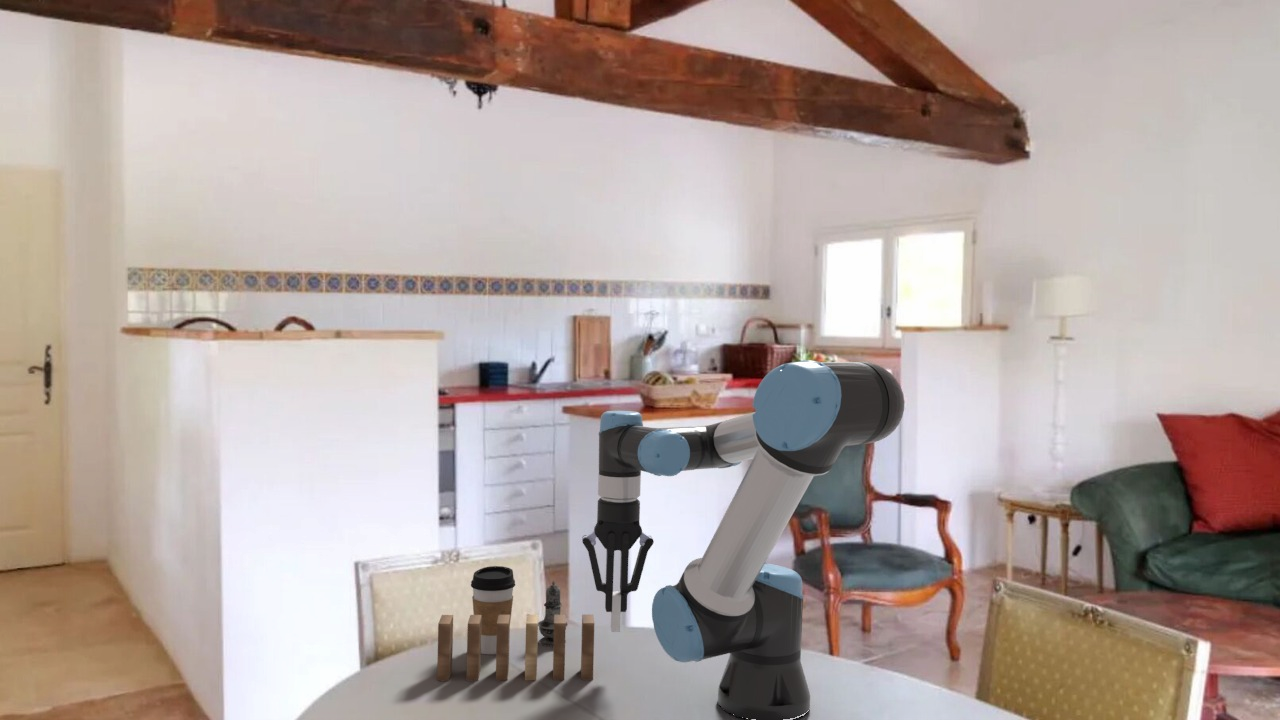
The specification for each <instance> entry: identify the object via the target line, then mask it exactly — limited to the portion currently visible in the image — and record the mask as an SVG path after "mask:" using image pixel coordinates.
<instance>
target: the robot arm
mask: <svg viewBox="0 0 1280 720" xmlns="http://www.w3.org/2000/svg"><path fill="white" fill-rule="evenodd" d="M752 409H754V412H750V413H747V414H743V415H740V416H736V417H733V418H729V419H726V420H723V421H720V422H717V423H713V424H708V425H700V426H699V425H697V426H678V427H677V426H676V427H674V426H673V427H649V426H644V423H643V415H642V414H641V413H640V412H638V411H630V410H608V411H604V412H603V413H602V414H601V416H600V424H599V425H600V426H599V432H598V474H597V475H598V480H597V481H598V485H597V487H598V488H597V495H598V496H599V497H600V498H599V499H598V500H597V515H596V516H597V517H596V519H597V520H596V524H595V526H594V529H593V531H591V532H590V533H589V534H585V535H583V536H582V538H581V540H582V544H583V546H584V547H585V549H586V551H587V553H588V558H589V561H590V567H591V570H592V576H593V580H594V584H595V589H596V591H597V592H602V593H604V594H605V597H604V598H605V599H604V600H605V601H604V603H605V605H604V608H605V611H606V613H610V631H611V632H612V633H621V613H626V612H627V610H628V594H629V593H632V592H636V591H637V590H638V588H639V585H640V582H641V576H642V574H643V571H644V567H645V563H646V559H647V556H648V552H649V551H650V549H651V548H652V546H653V544H654V538H653V537H652V535H647V534H646V533H645V532H643V529H642V526H641V524H640V520H641V519H640V516H641V515H640V514H641V513H640V511H641V501H640V499H639V498H640V497H641V482H642V481H641V478H642V475H641V473H642V472H645V473H648V474H651V475H654V476H657V477H661V476H664V477H673V476H677V475H678V474H680V473H681V472H684V471H685V472H686V471H694V470H706V469H708V470H709V469H726V468H731V467H736V466H738V465H741V463H742V462H746V461H749V460H751V462H750V465H749V466H748V469H747V470H746V472H745V474H744V476H743V477H742V480H741V482H740V484H739V486H738V488H737V489H736V492H735V493H734V495H733V497H732V499H731V502H730V504H729V505H728V507H727V509H726V511H725V513H724V514H723V517H722V518H721V520H720V522H719V523H718V524H719V525H718V527H717V528H716V531H715V532H714V534H713V536H712V537H711V540H710V541H709V544H708V546H707V548H706V550H705V552H704V554H703V556H702V557H700V558H695V559H693V560H691V562H689V563H688V564H687V566H686V567H685V569H684V571H683V573H682V574H681V576H680V579H679V580H678V582H677V583H676V584H673V585H671V584H669V585H665V587H660V589H659V590H657V591H656V592H655V595H654V597H653V601H652V603H651V619H652V623H653V628H654V632H655V635H656V638H657V640H658V643H659V644H660V646H661V647H662V650H664V652H665V653H666V654H667V655H668V657H670V658H671V659H673V660H674V661H676V662H679V663H690V662H691V663H692V662H695V663H697V662H701V661H703V660H707V659H711V658H715V657H720V656H723V655H727V654H728V655H729V657H728V659H727V661H726V662H727V663H726V665H725V668H724V671H723V673H722V676H721V679H720V683H719V685H718V688H717V689H718V690H717V704H718V705H720V706H721V707H720V706H719V707H720V708H721V709H722V710H723V709H724V710H725V711H724V710H723V711H724V712H726V711H727V712H726V713H728V714H729V713H731V714H730V715H732V714H734V715H736V716H739V717H743V718H748V719H756V720H783V719H790V718H795V717H797V716H800V715H802V714H804V713H806V712H807V711H808V710H809V708H810V709H811V694H810V693H811V691H810V690H809V687H808V683H807V679H806V675H805V672H804V669H803V666H802V662H801V659H802V658H801V653H802V652H801V651H802V631H803V630H802V629H803V627H802V626H803V608H804V607H803V603H804V600H805V596H804V595H803V580H802V576H801V575H800V574H799V573H798V572H797V571H795V570H793V569H791V568H788V567H785V566H782V565H777V564H773V563H766V562H768V561H767V560H768V559H769V557H770V555H771V553H772V552H773V550H774V548H775V546H776V544H777V543H778V541H779V540H780V538H781V536H782V534H783V532H784V530H785V528H786V527H787V525H788V523H789V521H790V519H791V517H793V514H794V513H795V510H796V509H797V508H798V505H799V503H800V502H801V500H802V498H803V496H804V494H805V493H806V491H807V490H808V487H809V485H810V484H811V483H812V480H813V479H814V477H817V476H818V477H819V476H823V475H826V474H827V473H829V472H830V471H831V469H832V468H833V466H834V464H835V462H836V461H837V459H838V457H839V456H840V454H841V452H842V451H843V449H844V448H845V447H846V446H860V445H866V444H867V445H868V444H873V443H878V442H879V441H881V440H884V439H885V438H887V437H889V436H890V435H891V434H892V433H893V432H894V431H895V430H896V429H897V427H898V426H899V424H900V423H901V421H902V419H903V416H904V411H905V397H904V392H903V389H902V386H901V385H900V383H899V382H898V380H897V379H896V378H895V376H894V375H893V374H892V373H891V372H890V371H888V370H887V369H886V368H884V367H882V366H880V365H878V364H875V363H872V362H869V361H868V362H867V361H832V362H830V361H828V362H827V361H824V362H821V361H818V360H811V359H810V360H808V359H807V360H799V361H795V362H787V363H784V364H780V365H779V366H776V367H775V368H773V369H772V370H770V371H769V372H767V374H766V375H765V376H764V377H763V379H762V380H761V381H760V383H759V384H758V386H757V388H756V391H755V393H754V396H753V400H752ZM596 539H597V540H599V542H600V543H601V544H602V546H603V547H604V549H606V558H605V559H606V562H605V563H606V564H605V583H604V582H603V581H602V575H601V571H600V567H599V561H598V556H597V553H596V548H595V546H596V544H597V541H596ZM637 540H639V550H638V553H637V557H636V560H635V564H634V568H633V572H632V575H631V579H630V582H629V558H630V557H629V555H630V552H629V551H630V550H631V548H632V547H633V546H634V545H635V543H636V542H637ZM615 551H620V567H619V568H620V569H619V570H620V571H619V573H620V575H619V591H618V590H615V591H614V566H615V562H614V561H615ZM809 711H810V710H809ZM734 715H733V716H734ZM736 716H735V717H736ZM739 717H738V718H739ZM743 718H742V719H743Z"/></svg>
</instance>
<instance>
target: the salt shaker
mask: <svg viewBox="0 0 1280 720" xmlns="http://www.w3.org/2000/svg"><path fill="white" fill-rule="evenodd" d="M561 592H562V591H561V588H560V587H559V586H557V585H556V582H555V581H552V583H551V585H549V586H548V587H547V588H546V592H545V603H543V605H544V607H545V615H544V619H542V620H540V621H538V631H539V632H540V634H541V635H542V636H543V637H541V638H540V639H538V643H539V644H540V645H541V644H542V645H541V646H544V645H546V646H545V647H554V615H561V611H562V610H561V607H562V606H563V603H562V602H561ZM568 624H569V623H568V622H567V621H566V627H567V626H568ZM566 629H567V628H566ZM566 629H565V631H566ZM566 643H567V641H566V639H565V644H566Z"/></svg>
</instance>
